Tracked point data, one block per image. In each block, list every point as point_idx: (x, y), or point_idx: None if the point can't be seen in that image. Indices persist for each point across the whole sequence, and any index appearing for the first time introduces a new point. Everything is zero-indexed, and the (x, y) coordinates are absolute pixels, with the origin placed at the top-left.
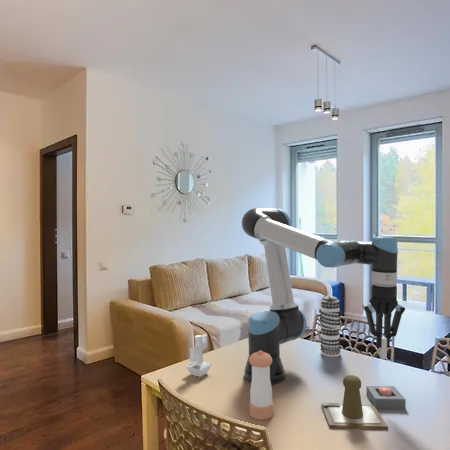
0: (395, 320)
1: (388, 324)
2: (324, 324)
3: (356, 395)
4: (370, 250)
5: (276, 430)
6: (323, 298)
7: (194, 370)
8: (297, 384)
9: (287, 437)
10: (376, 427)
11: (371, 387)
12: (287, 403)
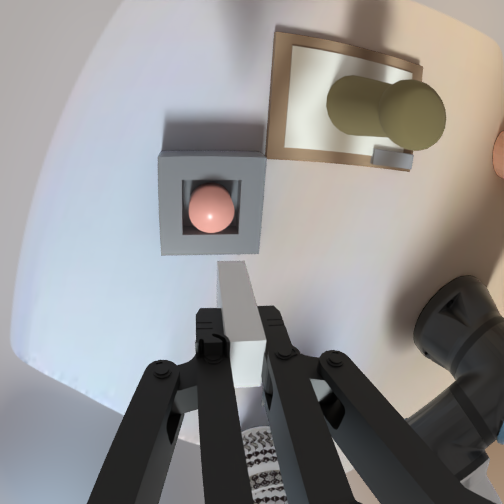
0: (143, 492)
1: (225, 450)
2: None
3: (387, 83)
4: None
5: (499, 88)
6: None
7: None
8: (409, 286)
9: (488, 60)
10: (309, 37)
11: (246, 241)
12: (462, 191)
